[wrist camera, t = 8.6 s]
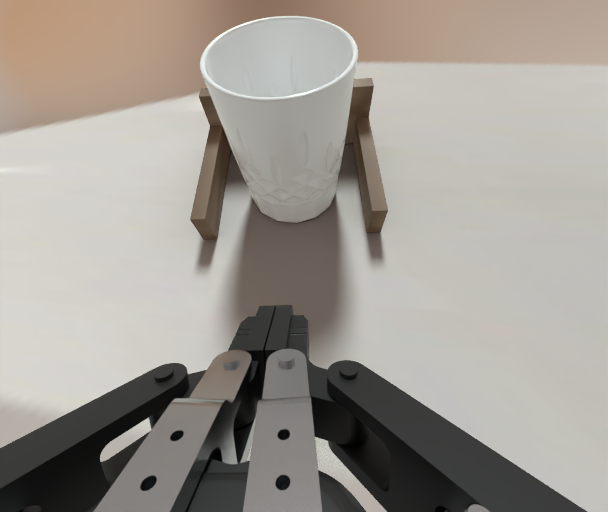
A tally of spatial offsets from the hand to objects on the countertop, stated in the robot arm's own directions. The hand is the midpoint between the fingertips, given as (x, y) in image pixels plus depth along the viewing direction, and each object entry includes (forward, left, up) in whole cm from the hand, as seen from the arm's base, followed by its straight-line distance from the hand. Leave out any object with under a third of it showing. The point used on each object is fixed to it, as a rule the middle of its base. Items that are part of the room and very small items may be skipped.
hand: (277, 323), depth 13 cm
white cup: (0, -12, -5) cm, 13 cm away
